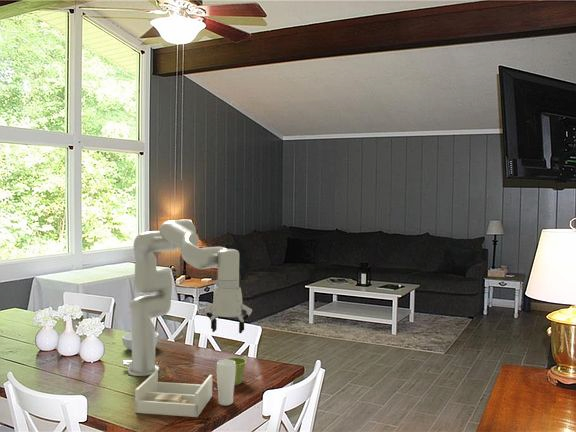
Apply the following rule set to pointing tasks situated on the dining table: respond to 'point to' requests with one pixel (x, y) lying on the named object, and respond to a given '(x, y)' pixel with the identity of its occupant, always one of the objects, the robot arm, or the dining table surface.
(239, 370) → the plant pot
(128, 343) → the cereal bowl
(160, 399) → the offcut stack
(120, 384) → the dining table surface
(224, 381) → the drinking glass
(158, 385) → the tray
